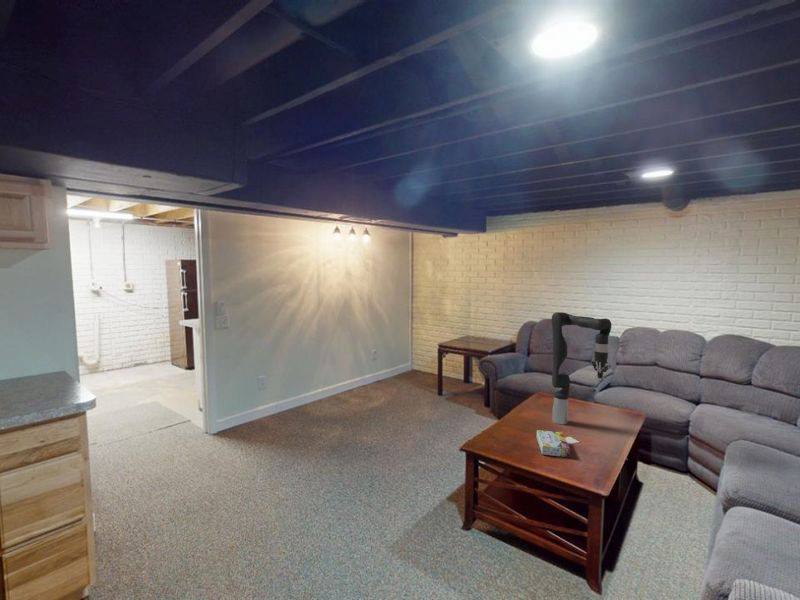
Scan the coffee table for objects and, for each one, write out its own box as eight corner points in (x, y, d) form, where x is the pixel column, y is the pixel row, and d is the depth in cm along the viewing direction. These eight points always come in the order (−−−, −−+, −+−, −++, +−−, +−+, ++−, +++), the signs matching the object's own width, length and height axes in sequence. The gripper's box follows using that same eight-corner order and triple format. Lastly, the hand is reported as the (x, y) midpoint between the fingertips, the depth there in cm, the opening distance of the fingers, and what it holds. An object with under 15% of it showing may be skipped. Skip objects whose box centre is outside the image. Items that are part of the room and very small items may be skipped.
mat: (537, 442, 240) (537, 441, 240) (569, 437, 248) (569, 436, 248) (547, 448, 232) (547, 447, 232) (579, 442, 240) (579, 441, 240)
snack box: (570, 448, 220) (542, 445, 223) (570, 457, 221) (542, 455, 223) (562, 431, 241) (536, 429, 244) (561, 440, 242) (535, 438, 244)
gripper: (588, 349, 251) (587, 376, 252) (605, 353, 239) (604, 381, 240) (597, 348, 253) (596, 375, 255) (614, 352, 241) (613, 380, 242)
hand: (600, 378), depth 247 cm, fingers closed
